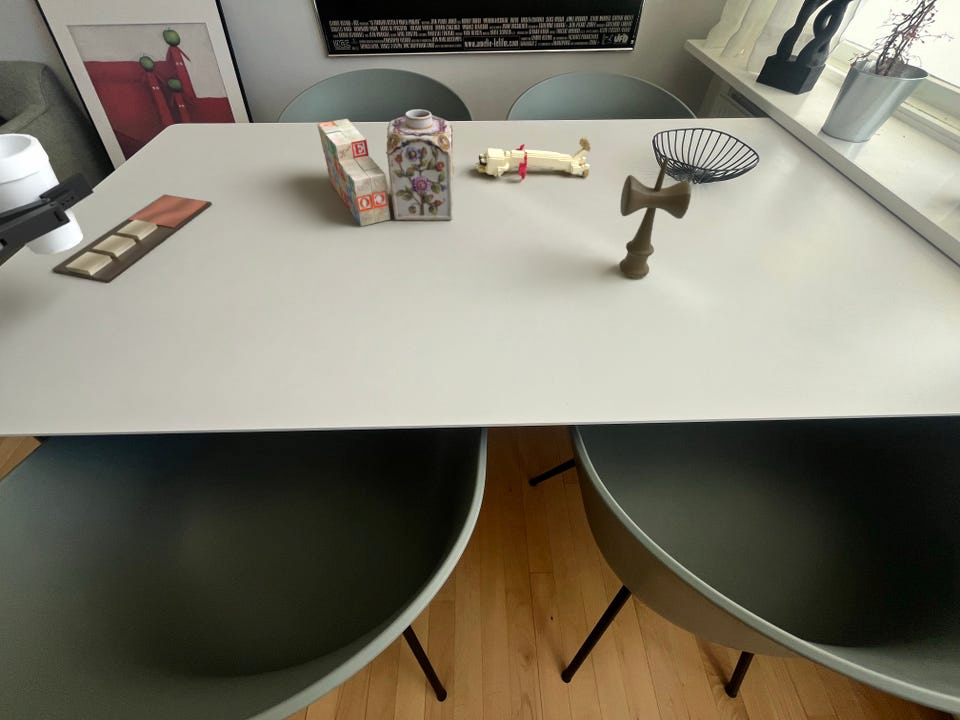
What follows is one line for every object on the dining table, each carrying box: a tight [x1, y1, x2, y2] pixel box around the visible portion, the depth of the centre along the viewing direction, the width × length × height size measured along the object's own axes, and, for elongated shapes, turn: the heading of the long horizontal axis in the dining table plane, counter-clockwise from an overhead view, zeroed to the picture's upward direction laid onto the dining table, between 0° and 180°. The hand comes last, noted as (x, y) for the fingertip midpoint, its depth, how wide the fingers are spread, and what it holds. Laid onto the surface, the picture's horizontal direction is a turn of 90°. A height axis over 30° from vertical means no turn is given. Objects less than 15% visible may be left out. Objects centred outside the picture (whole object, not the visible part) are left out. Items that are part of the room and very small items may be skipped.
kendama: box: [618, 156, 692, 278], centre depth 76 cm, size 6×10×20 cm, turn 83°
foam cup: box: [0, 133, 84, 256], centre depth 63 cm, size 10×9×13 cm
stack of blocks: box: [316, 118, 391, 227], centre depth 95 cm, size 21×6×12 cm, turn 28°
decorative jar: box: [385, 108, 455, 221], centre depth 91 cm, size 12×12×18 cm
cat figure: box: [475, 137, 592, 180], centre depth 106 cm, size 10×9×25 cm
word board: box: [52, 194, 213, 284], centre depth 88 cm, size 11×27×2 cm, turn 165°
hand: (52, 179), depth 66 cm, fingers closed on foam cup, 9 cm apart
